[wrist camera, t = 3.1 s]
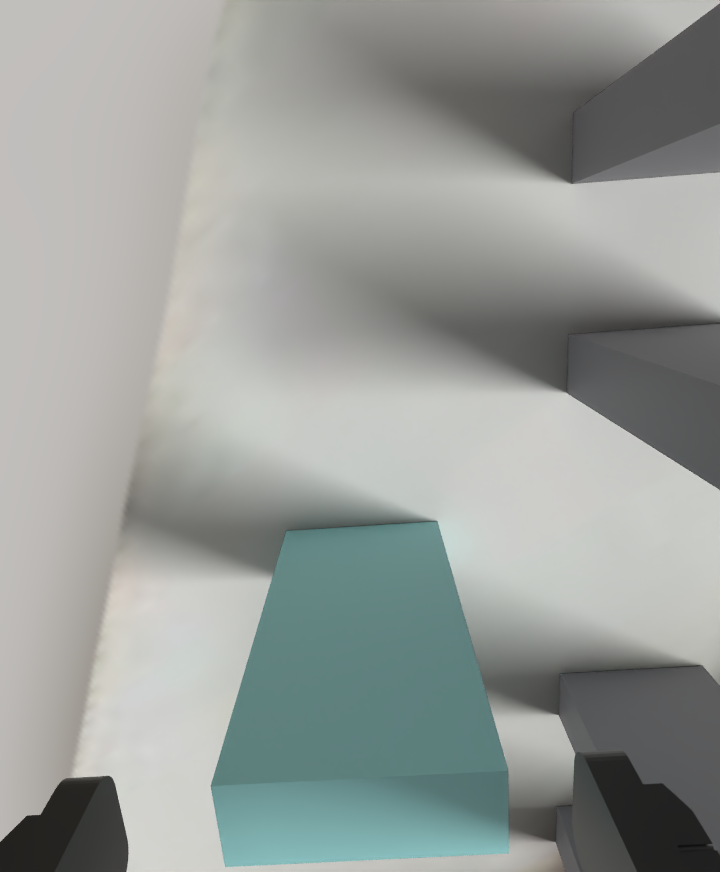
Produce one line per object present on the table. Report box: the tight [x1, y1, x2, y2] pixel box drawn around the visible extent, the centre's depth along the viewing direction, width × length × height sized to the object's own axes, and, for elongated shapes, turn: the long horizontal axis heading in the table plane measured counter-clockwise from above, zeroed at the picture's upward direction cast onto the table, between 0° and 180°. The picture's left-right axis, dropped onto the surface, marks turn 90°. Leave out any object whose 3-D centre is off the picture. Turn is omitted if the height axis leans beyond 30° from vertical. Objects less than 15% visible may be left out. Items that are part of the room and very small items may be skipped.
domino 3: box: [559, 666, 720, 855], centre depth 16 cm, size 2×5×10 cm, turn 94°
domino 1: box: [211, 521, 509, 867], centre depth 15 cm, size 2×5×10 cm, turn 94°
